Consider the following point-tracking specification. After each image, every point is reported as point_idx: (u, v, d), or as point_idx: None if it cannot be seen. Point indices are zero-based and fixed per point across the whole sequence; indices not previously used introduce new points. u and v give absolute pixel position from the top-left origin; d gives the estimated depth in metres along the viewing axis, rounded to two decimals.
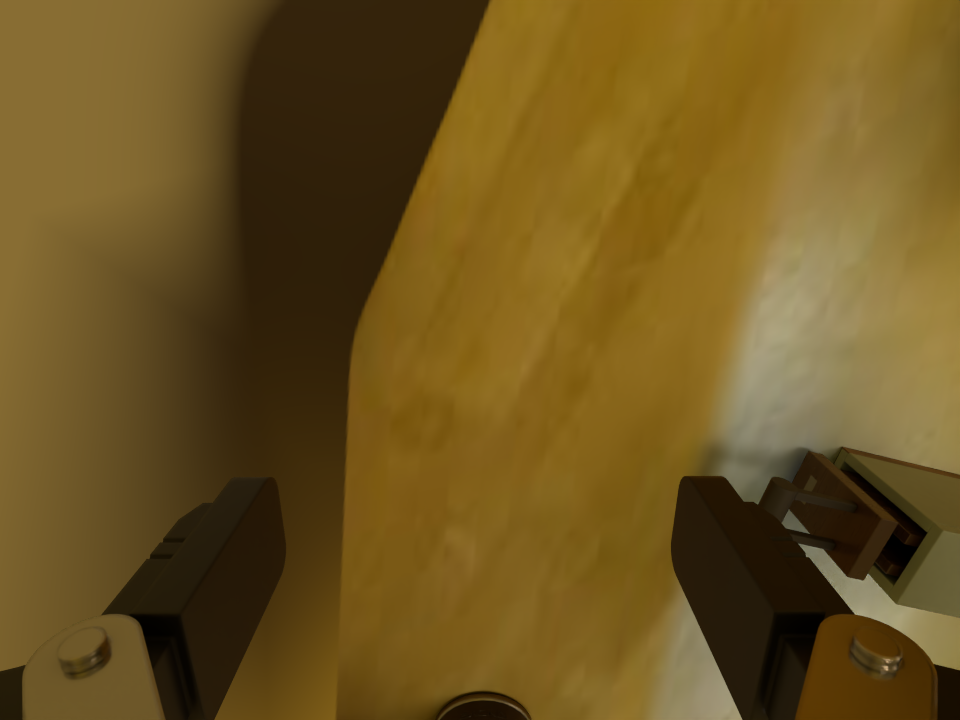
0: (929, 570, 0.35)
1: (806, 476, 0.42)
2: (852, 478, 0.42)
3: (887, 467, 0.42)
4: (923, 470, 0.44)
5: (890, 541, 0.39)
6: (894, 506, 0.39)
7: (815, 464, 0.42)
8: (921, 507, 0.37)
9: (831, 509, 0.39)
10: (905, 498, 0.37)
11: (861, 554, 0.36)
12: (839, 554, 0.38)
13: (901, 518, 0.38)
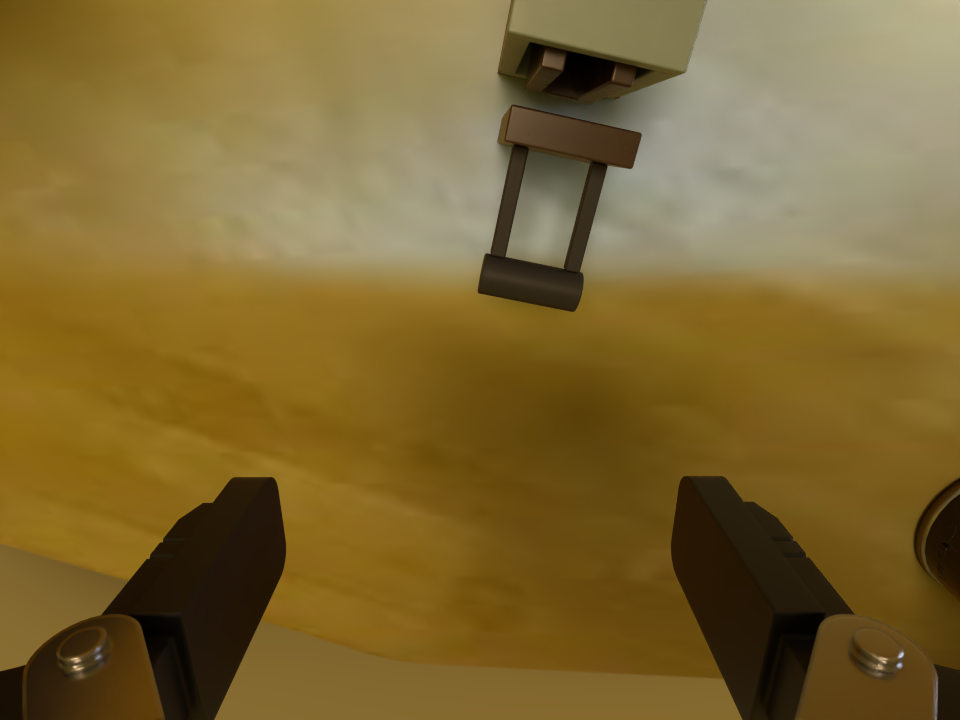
0: (603, 27, 0.18)
1: None
2: (527, 76, 0.25)
3: (510, 8, 0.25)
4: None
5: None
6: None
7: None
8: (507, 28, 0.20)
9: None
10: (503, 46, 0.21)
11: (582, 154, 0.20)
12: (605, 164, 0.21)
13: (540, 48, 0.21)
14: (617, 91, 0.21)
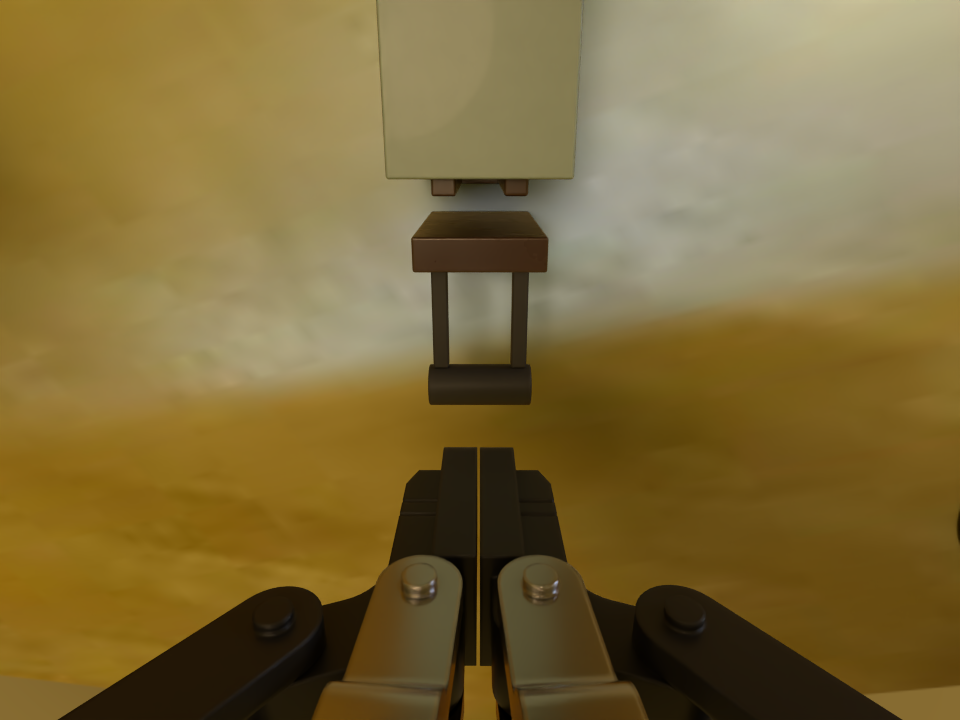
0: (478, 155, 0.17)
1: None
2: None
3: None
4: None
5: None
6: None
7: None
8: None
9: None
10: None
11: (493, 269, 0.20)
12: None
13: None
14: None
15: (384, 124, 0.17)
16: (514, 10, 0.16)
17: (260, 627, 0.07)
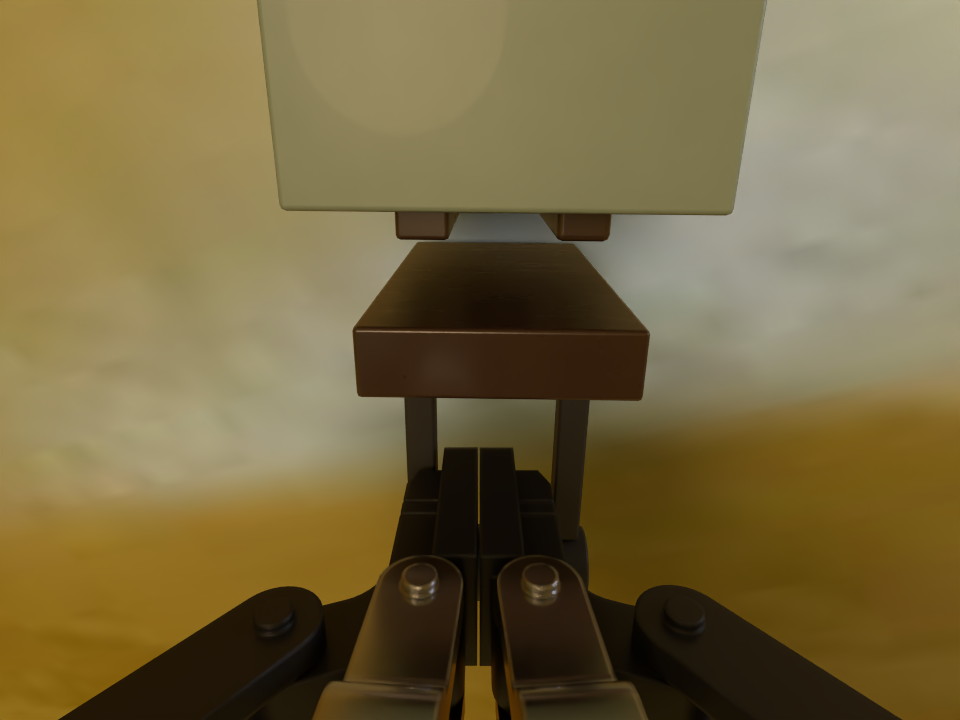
0: (504, 155, 0.07)
1: None
2: None
3: None
4: None
5: None
6: None
7: None
8: None
9: None
10: None
11: (529, 393, 0.09)
12: None
13: None
14: None
15: (268, 75, 0.07)
16: None
17: (260, 627, 0.07)
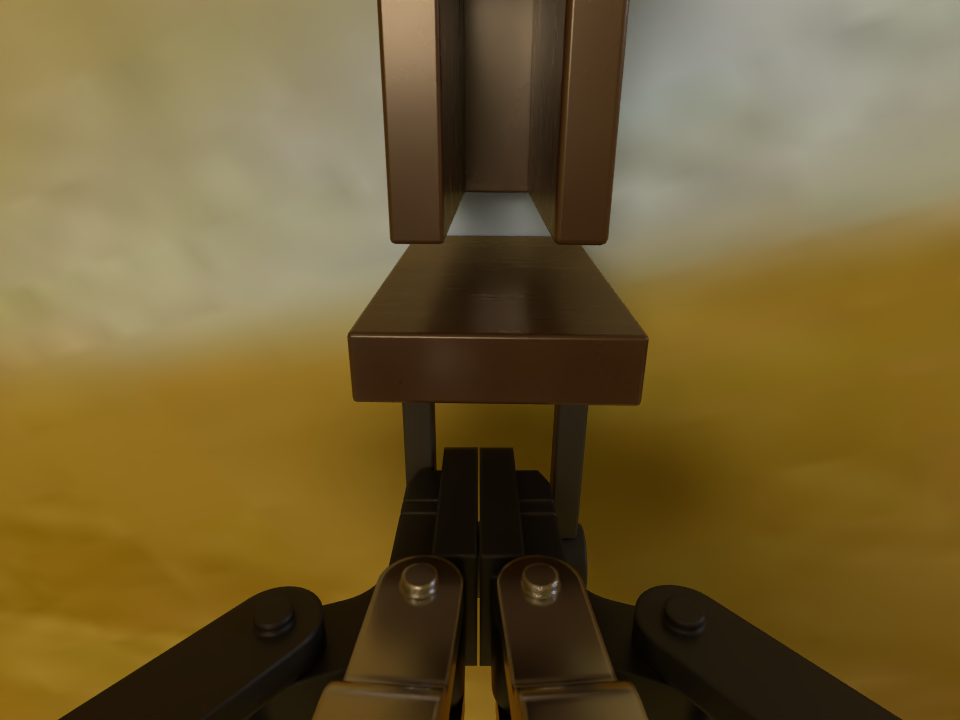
0: None
1: None
2: None
3: None
4: None
5: (543, 97, 0.10)
6: None
7: None
8: None
9: None
10: None
11: (526, 397, 0.09)
12: None
13: None
14: None
15: None
16: None
17: (261, 627, 0.07)
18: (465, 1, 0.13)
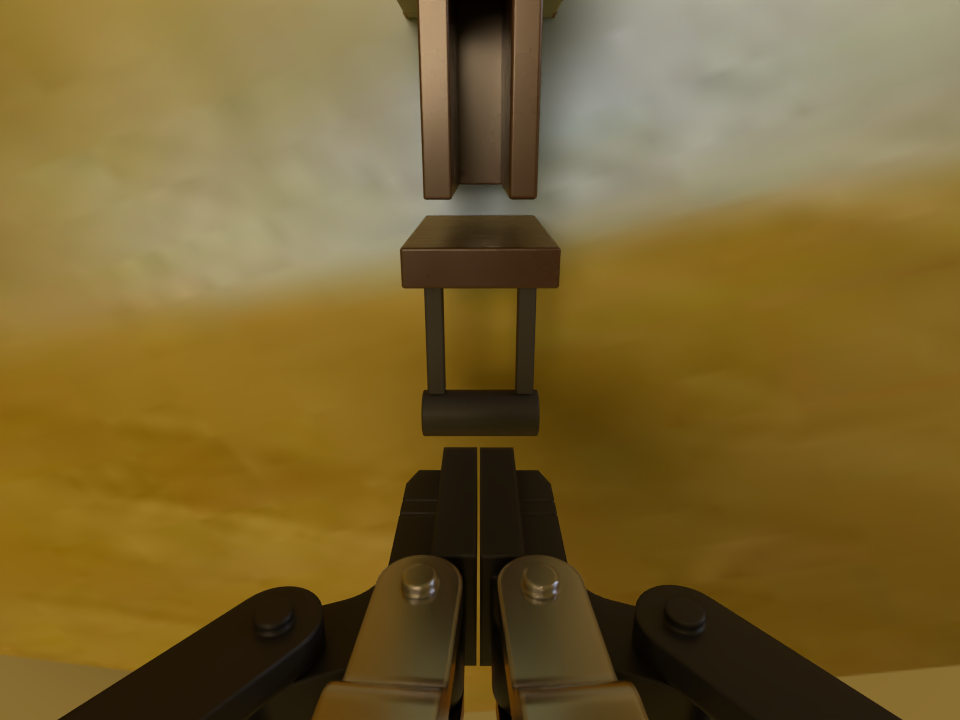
0: None
1: None
2: None
3: None
4: None
5: (505, 123, 0.18)
6: None
7: None
8: None
9: None
10: None
11: (496, 284, 0.17)
12: None
13: None
14: None
15: None
16: None
17: (260, 627, 0.07)
18: (459, 64, 0.21)
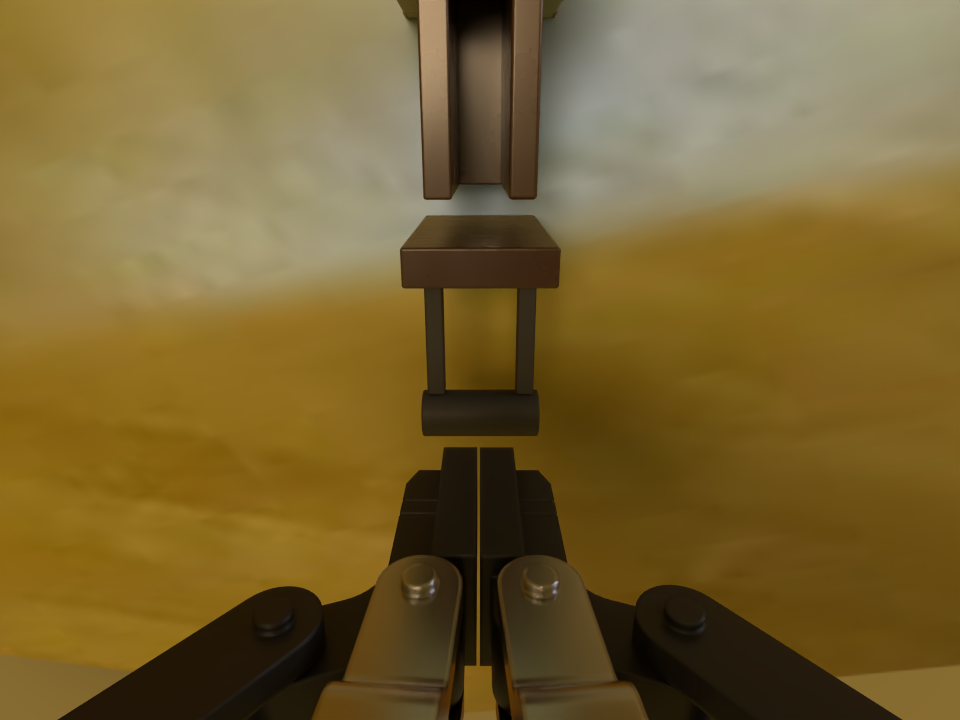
0: None
1: None
2: None
3: None
4: None
5: (505, 123, 0.18)
6: None
7: None
8: None
9: None
10: None
11: (496, 284, 0.17)
12: None
13: None
14: None
15: None
16: None
17: (260, 627, 0.07)
18: (459, 64, 0.21)
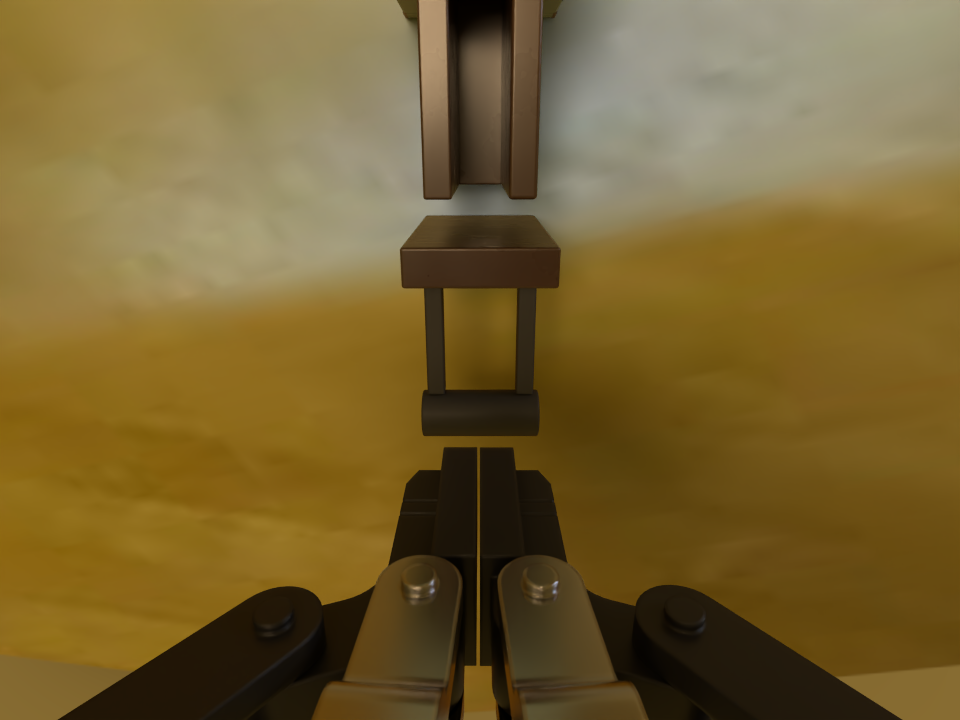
0: None
1: None
2: None
3: None
4: None
5: (505, 123, 0.18)
6: None
7: None
8: None
9: None
10: None
11: (496, 284, 0.17)
12: None
13: None
14: None
15: None
16: None
17: (260, 627, 0.07)
18: (459, 64, 0.21)
